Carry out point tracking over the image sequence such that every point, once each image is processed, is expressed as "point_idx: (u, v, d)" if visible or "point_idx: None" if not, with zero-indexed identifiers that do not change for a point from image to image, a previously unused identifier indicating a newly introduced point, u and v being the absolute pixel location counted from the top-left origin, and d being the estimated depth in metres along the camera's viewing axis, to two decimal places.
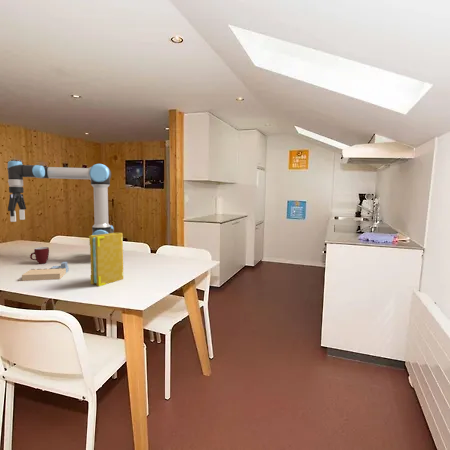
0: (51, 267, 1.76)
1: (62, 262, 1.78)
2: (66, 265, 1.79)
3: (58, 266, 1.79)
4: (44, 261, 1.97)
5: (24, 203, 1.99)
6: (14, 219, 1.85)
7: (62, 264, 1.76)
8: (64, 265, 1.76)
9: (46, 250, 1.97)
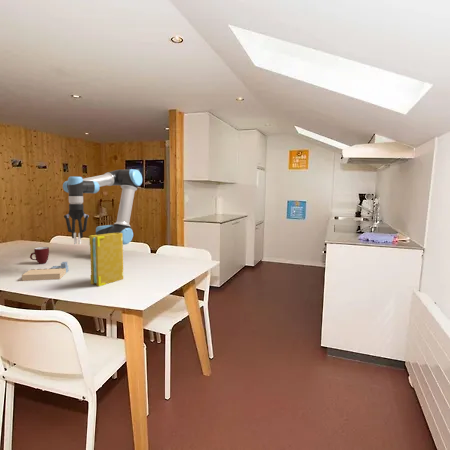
0: (51, 267, 1.76)
1: (62, 262, 1.78)
2: (66, 265, 1.79)
3: (58, 266, 1.79)
4: (44, 261, 1.97)
5: (84, 225, 1.78)
6: None
7: (62, 264, 1.76)
8: (64, 265, 1.76)
9: (46, 250, 1.97)
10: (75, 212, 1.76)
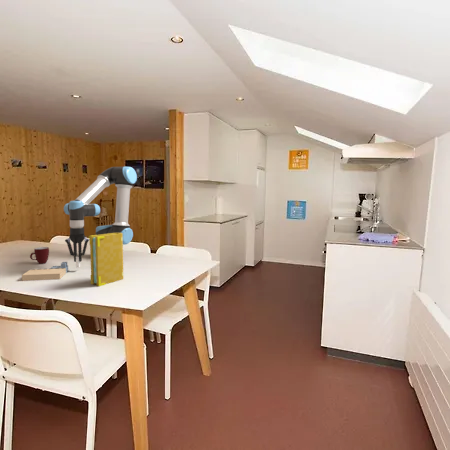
0: (51, 267, 1.76)
1: (62, 262, 1.78)
2: (66, 265, 1.79)
3: (58, 266, 1.79)
4: (44, 261, 1.97)
5: (84, 249, 1.79)
6: None
7: (62, 264, 1.76)
8: (64, 265, 1.76)
9: (46, 250, 1.97)
10: (76, 236, 1.78)
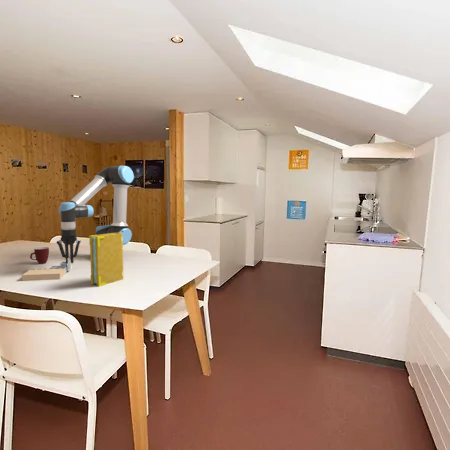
0: (51, 267, 1.76)
1: (62, 262, 1.78)
2: (66, 265, 1.79)
3: (58, 266, 1.79)
4: (44, 261, 1.97)
5: (75, 251, 1.78)
6: None
7: (62, 264, 1.76)
8: (64, 265, 1.76)
9: (46, 250, 1.97)
10: (67, 237, 1.77)
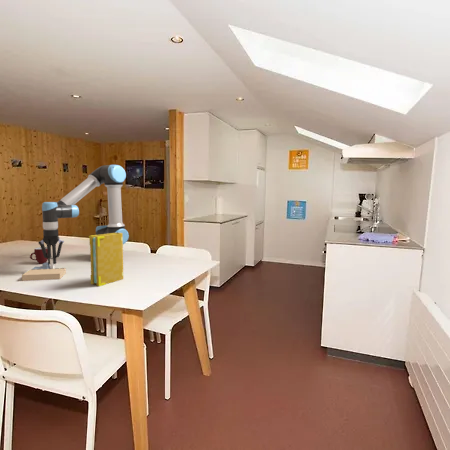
0: (33, 268, 1.74)
1: (44, 263, 1.76)
2: (48, 266, 1.77)
3: (40, 267, 1.76)
4: (44, 261, 1.97)
5: (58, 251, 1.76)
6: None
7: (44, 265, 1.74)
8: (46, 266, 1.74)
9: (46, 250, 1.97)
10: (49, 238, 1.74)
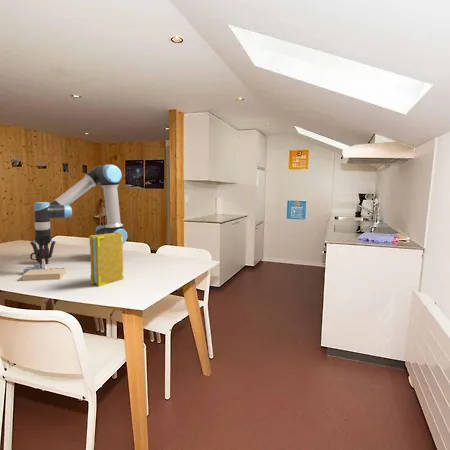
0: None
1: (36, 263, 1.75)
2: (40, 266, 1.76)
3: (32, 267, 1.75)
4: None
5: (50, 251, 1.75)
6: None
7: (36, 265, 1.73)
8: (38, 266, 1.73)
9: None
10: (41, 238, 1.74)
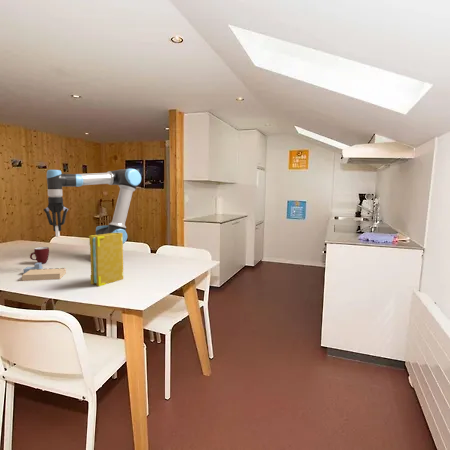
0: None
1: (36, 263, 1.75)
2: (40, 266, 1.76)
3: (32, 267, 1.75)
4: (44, 261, 1.97)
5: (63, 218, 1.80)
6: None
7: (35, 265, 1.73)
8: (38, 266, 1.73)
9: (46, 250, 1.97)
10: (54, 205, 1.78)
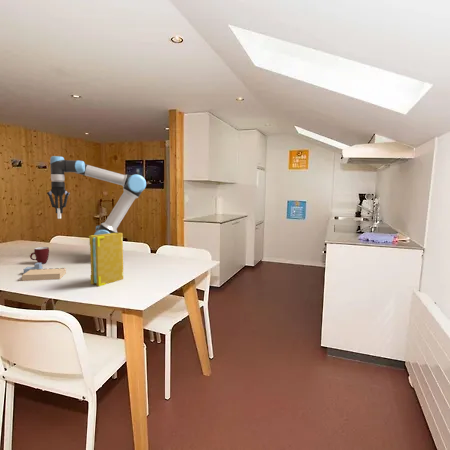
0: None
1: (36, 263, 1.75)
2: (40, 266, 1.76)
3: (32, 267, 1.75)
4: (44, 261, 1.97)
5: (64, 202, 1.95)
6: None
7: (35, 265, 1.73)
8: (38, 266, 1.73)
9: (46, 250, 1.97)
10: (57, 189, 1.93)
